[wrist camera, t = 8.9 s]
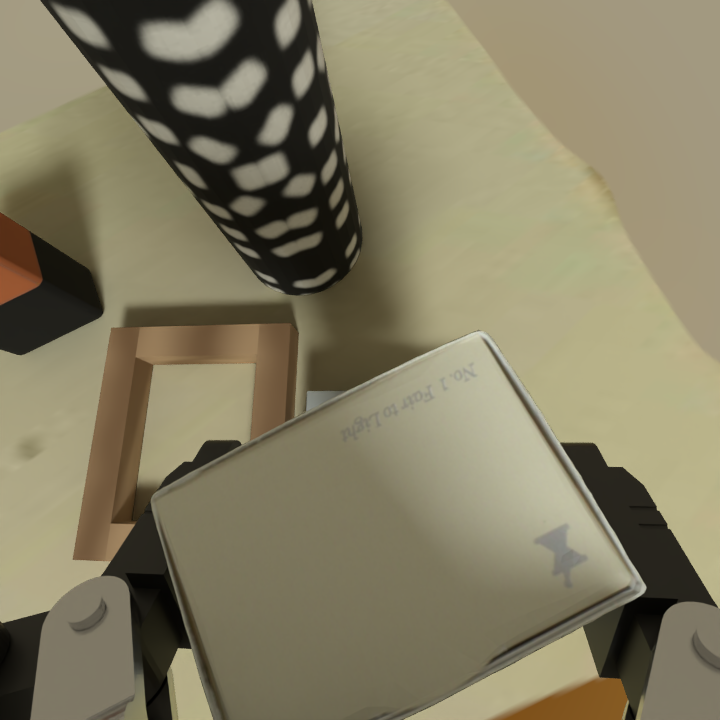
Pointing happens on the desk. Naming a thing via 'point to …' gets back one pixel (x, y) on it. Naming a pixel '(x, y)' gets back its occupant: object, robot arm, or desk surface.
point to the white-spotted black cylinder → (236, 121)
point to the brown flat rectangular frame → (130, 400)
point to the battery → (40, 291)
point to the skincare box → (388, 546)
